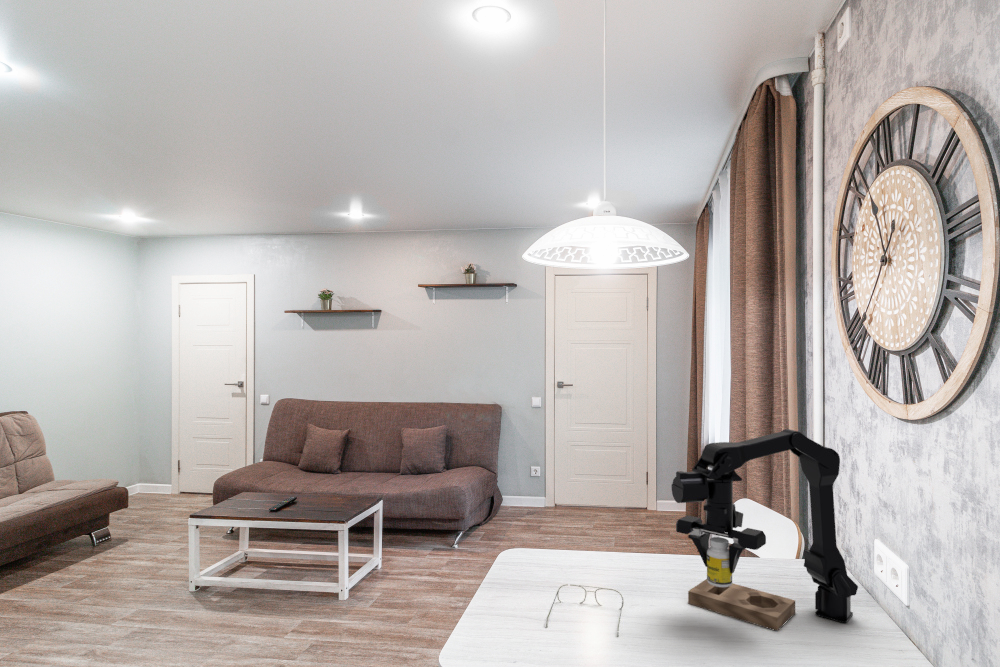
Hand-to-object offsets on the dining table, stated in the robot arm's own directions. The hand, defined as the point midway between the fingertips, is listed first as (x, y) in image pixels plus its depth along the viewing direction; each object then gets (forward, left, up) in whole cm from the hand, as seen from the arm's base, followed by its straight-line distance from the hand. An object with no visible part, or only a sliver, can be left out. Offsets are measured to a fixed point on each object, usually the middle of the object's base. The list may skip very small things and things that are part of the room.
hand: (719, 569), depth 140 cm
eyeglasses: (+25, +17, -13) cm, 33 cm away
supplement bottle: (0, 0, -3) cm, 3 cm away
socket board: (0, -12, -13) cm, 17 cm away
